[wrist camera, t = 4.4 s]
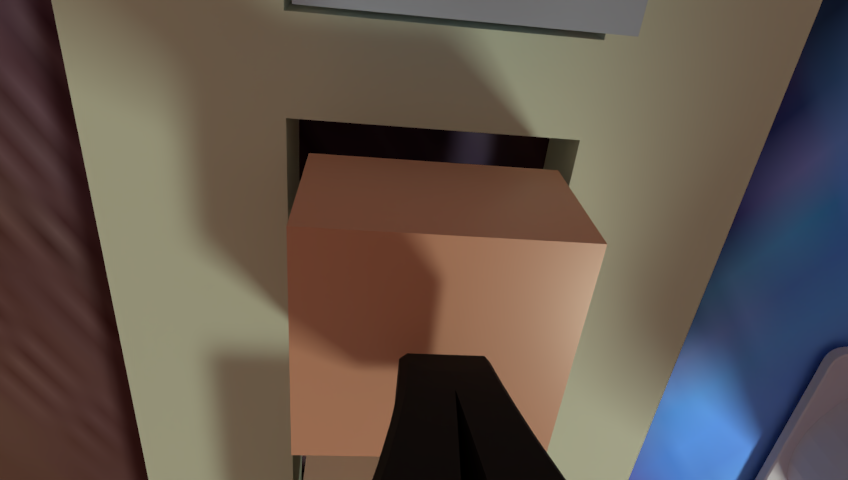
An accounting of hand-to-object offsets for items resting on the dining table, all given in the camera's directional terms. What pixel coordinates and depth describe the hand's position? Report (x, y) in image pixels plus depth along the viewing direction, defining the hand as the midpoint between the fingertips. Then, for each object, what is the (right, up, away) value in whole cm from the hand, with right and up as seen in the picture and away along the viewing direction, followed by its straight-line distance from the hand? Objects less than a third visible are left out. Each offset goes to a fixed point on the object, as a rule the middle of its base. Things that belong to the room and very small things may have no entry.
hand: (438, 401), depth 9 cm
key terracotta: (0, +2, +4) cm, 4 cm away
